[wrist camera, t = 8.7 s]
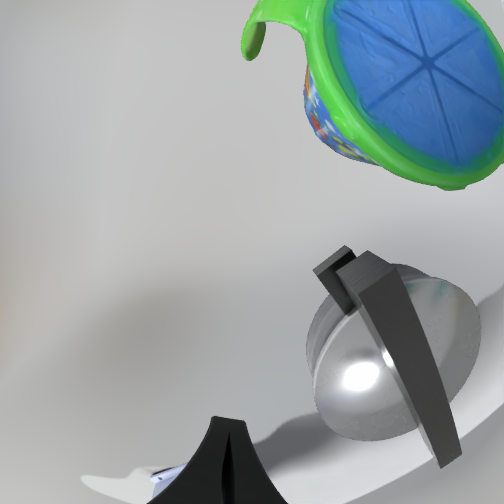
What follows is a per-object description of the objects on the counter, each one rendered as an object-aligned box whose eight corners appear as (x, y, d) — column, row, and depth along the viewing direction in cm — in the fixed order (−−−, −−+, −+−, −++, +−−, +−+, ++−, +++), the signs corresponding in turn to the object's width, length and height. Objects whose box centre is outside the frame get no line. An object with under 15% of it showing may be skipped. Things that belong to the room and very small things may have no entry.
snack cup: (460, 111, 18) (553, 90, 8) (415, 227, 20) (513, 261, 10) (284, 4, 17) (306, -91, 7) (216, 120, 18) (186, 61, 9)
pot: (465, 357, 23) (488, 378, 19) (365, 433, 24) (377, 462, 20) (386, 195, 20) (414, 198, 16) (247, 301, 21) (247, 327, 17)
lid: (487, 385, 19) (513, 411, 15) (366, 468, 20) (380, 503, 16) (432, 197, 15) (477, 203, 11) (248, 320, 17) (248, 360, 13)
